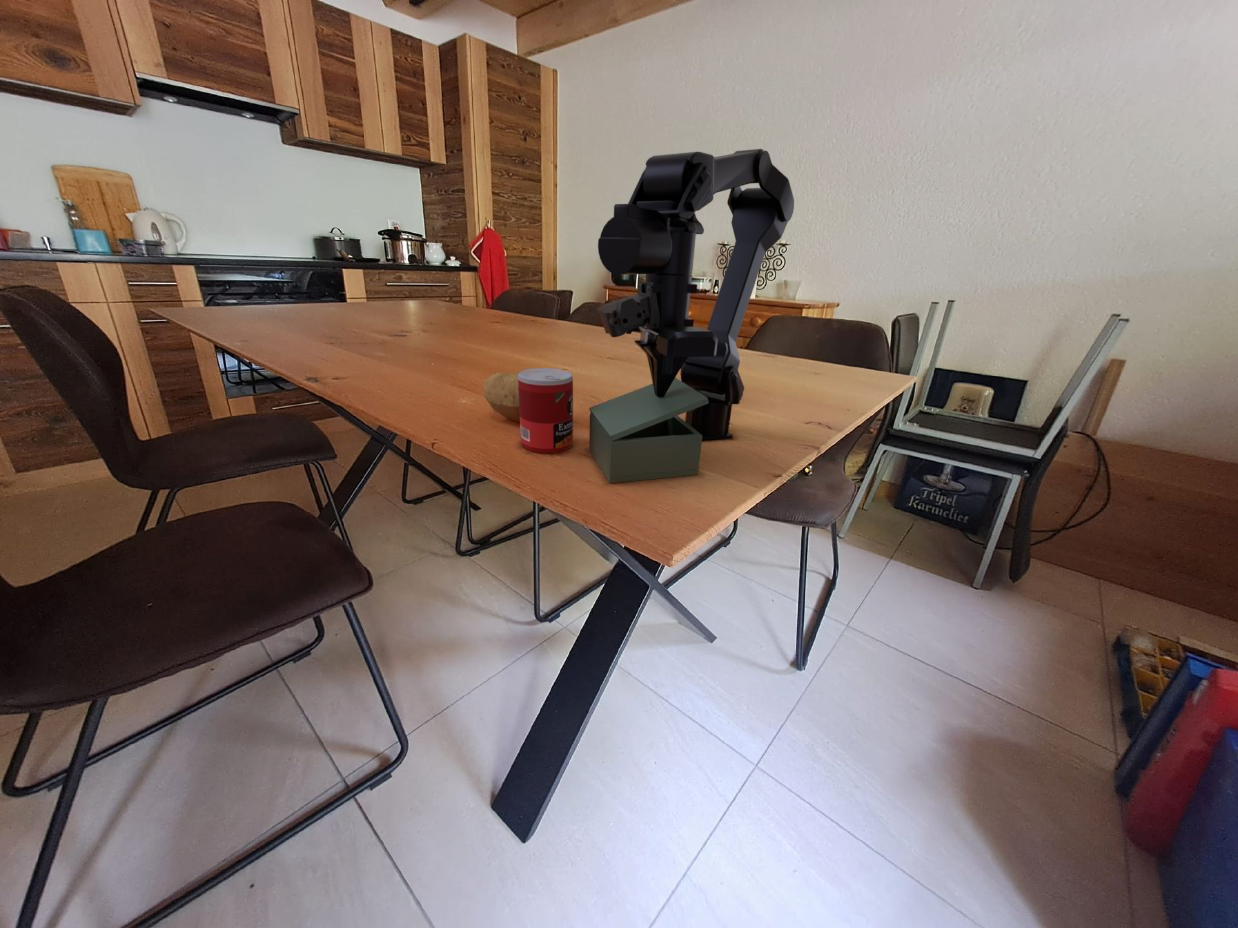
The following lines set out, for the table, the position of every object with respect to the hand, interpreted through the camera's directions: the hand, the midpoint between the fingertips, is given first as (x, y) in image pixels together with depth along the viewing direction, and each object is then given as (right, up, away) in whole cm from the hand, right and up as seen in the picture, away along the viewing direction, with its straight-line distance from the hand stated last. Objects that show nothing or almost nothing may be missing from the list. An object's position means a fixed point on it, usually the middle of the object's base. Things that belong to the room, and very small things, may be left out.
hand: (659, 396), depth 65 cm
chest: (-2, -9, +3) cm, 10 cm away
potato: (-22, -2, +18) cm, 28 cm away
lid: (-2, -2, 0) cm, 3 cm away
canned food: (-17, -6, +8) cm, 20 cm away
